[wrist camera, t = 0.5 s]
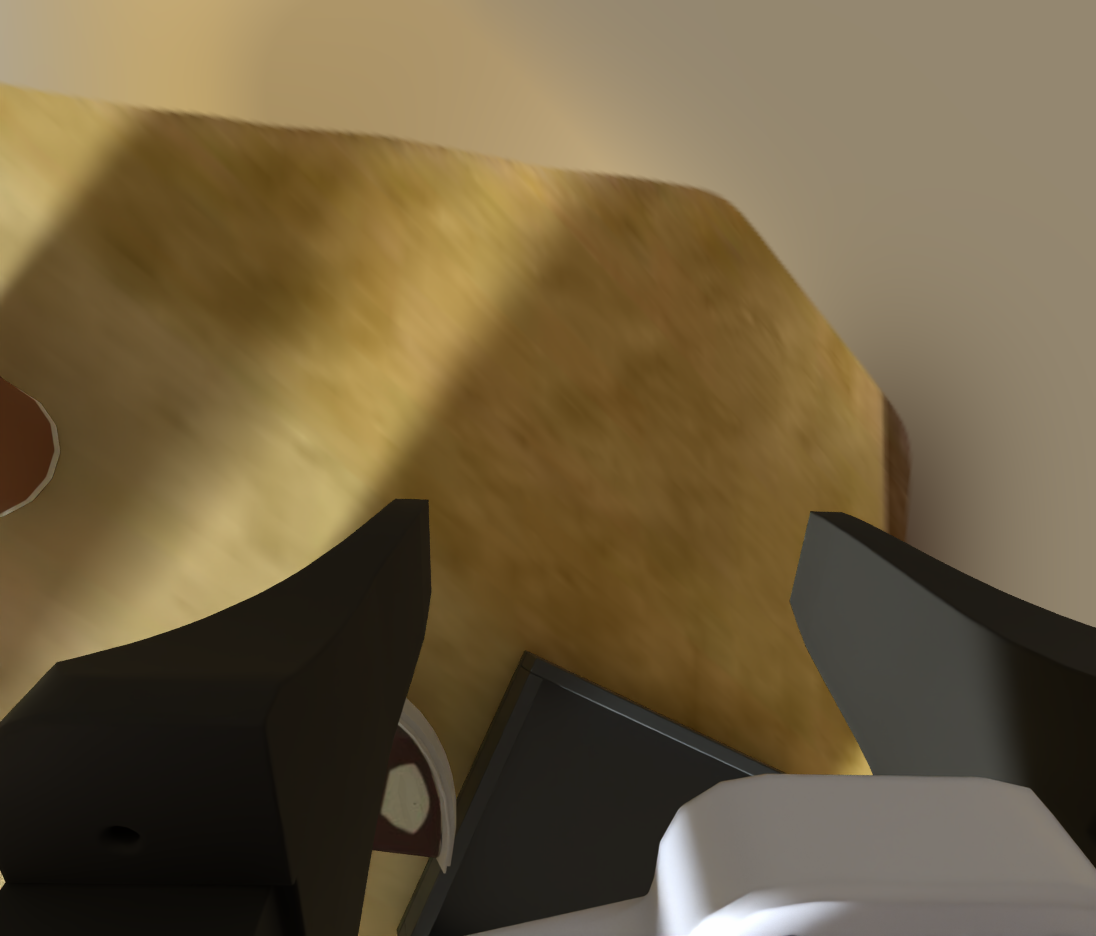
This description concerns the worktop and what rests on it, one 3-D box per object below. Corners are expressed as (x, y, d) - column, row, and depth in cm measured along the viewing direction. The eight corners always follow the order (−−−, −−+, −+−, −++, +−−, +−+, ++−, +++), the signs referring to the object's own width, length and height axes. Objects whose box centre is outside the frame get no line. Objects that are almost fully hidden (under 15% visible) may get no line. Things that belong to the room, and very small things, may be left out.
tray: (693, 1039, 37) (718, 1075, 34) (396, 930, 33) (399, 961, 31) (787, 774, 40) (815, 788, 37) (524, 649, 37) (536, 657, 34)
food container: (460, 661, 36) (498, 703, 26) (431, 784, 35) (460, 875, 25) (211, 613, 33) (151, 640, 23) (170, 745, 32) (90, 831, 22)
